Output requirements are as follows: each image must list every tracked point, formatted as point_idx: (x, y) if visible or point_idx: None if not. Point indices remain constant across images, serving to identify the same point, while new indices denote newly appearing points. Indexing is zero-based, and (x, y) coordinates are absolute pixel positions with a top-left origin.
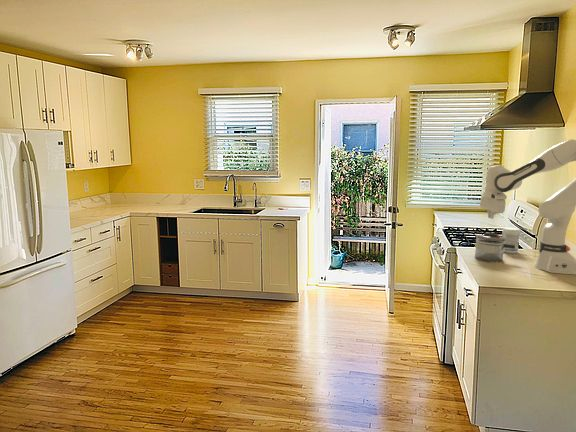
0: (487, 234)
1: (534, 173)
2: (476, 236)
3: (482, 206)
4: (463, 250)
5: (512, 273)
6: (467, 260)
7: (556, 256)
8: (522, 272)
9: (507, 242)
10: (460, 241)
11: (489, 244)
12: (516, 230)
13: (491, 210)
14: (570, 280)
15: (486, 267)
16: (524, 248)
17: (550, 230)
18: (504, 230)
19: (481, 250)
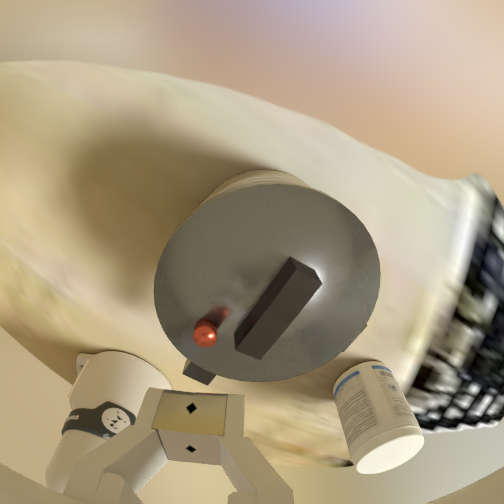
0: (278, 285)
1: None
2: (305, 187)
3: (499, 502)
4: (427, 197)
5: (44, 221)
6: (237, 102)
7: (71, 407)
8: (61, 268)
9: (359, 398)
10: None
11: None
12: (355, 464)
13: (24, 486)
14: (29, 350)
15: (110, 146)
16: None
17: (49, 477)
18: (397, 430)
19: (228, 185)
